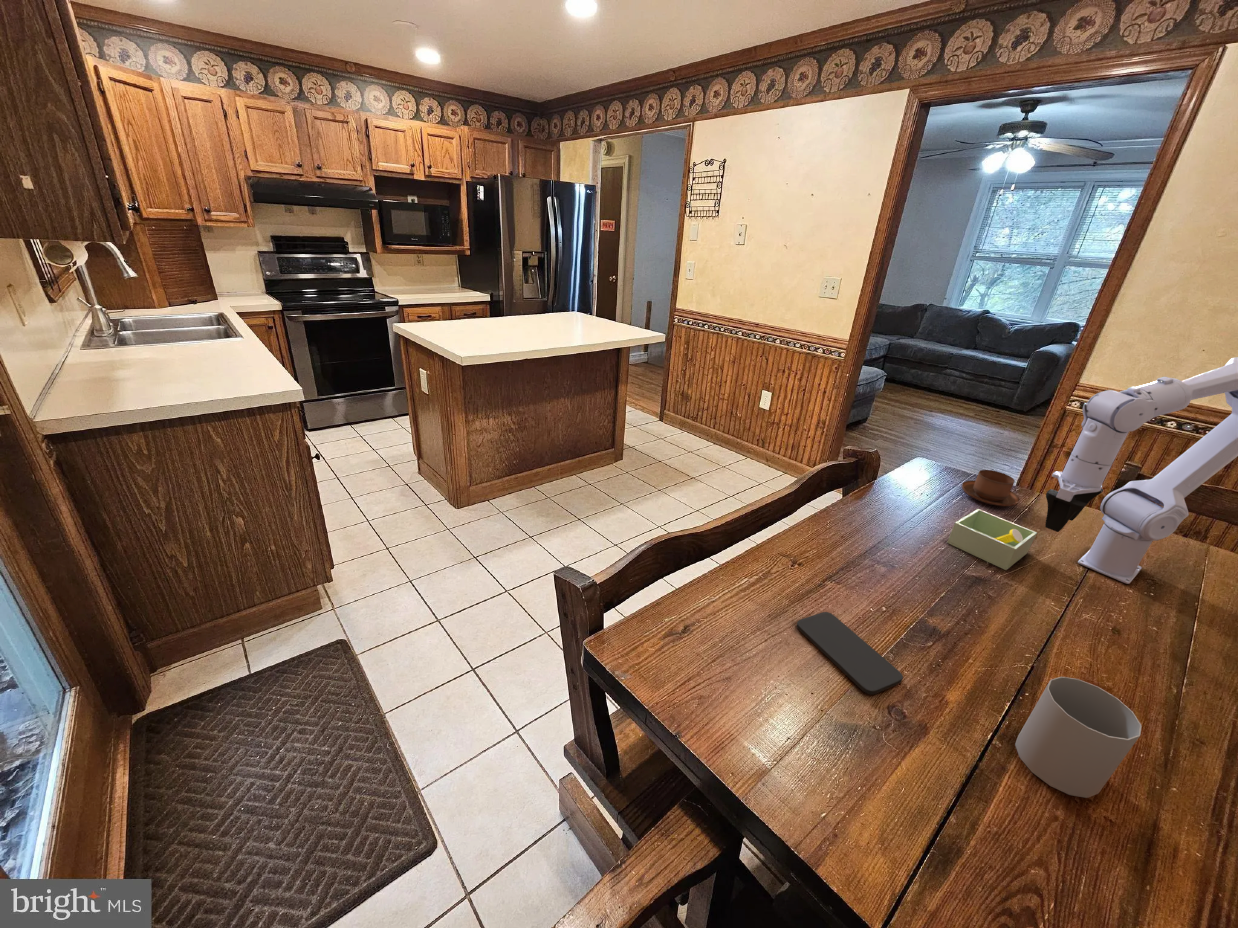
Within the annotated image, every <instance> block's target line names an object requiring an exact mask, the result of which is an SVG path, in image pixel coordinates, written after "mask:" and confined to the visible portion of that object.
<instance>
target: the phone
mask: <svg viewBox="0 0 1238 928" xmlns="http://www.w3.org/2000/svg"><path fill="white" fill-rule="evenodd" d="M796 628H797V630H798V631H799V632H800V633H801V634H802V635H803V636H805V638H807V639H808V641H810V642H811V643H812V644H813V645H814V646H815V647H816V648H817V649H818V650H819V651H820V652H821V653H822V654H823V655H824V656H825V657H826V658H827V659H829V661H831V662H832V663H833V664H834V665H835V666H836V667H837V668H838V669H839V670H840V671H841V672H842V673H843V674H844V675H845V676H846V677H847V678H848V679H849V680H850V681H851V682H852V683H853V684H855V686H857V687H858V689H860V690H861V691H862V692H864V693H865V694H867V695H870V696H871V695H876V694H879V693H881V692H883V691H885V690H887V689H890V688H893V687H895V686H897V685H899V684H901V683H902V682H903V679H904V676H903V674H902V673H901V671H900V670H898V669H897V668H896V667H895V666H894V665H892V664H891V662H889V661H888V660H887V659H886V658H884V657H883V656H882V655H881V654H879V652H878V651H876V650H875V649H874V648H873V647H872V646H871V645H869V644H868V643H867V642H866V641H865V640H863V639H862V638H861V637H860V636H858V634H856V633H855V632H854V631H853V630H851V628H849V626H847V625H846V624H845V623H844V622H842V621H841V620H840V619H839V618H838V617H837V616H836V615H835V614H832V613H831V612H828V611H823V612H820V613H819V612H818V613H816V614H813V615H811V616H807V617H804V618H801V619H799V620H798V621H797V622H796Z"/></svg>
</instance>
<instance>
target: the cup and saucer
mask: <svg viewBox="0 0 1238 928" xmlns="http://www.w3.org/2000/svg"><path fill="white" fill-rule="evenodd" d="M1014 484H1015V478H1013V477H1012V476H1011V475H1008V474H1007V473H1004V472H1001V471H997V470H992V469H981V470H979V471H978V473H977V476H976V479H975V480H966V481H964V482H962V483H961V488H962V491H963V492H964V493H965V494H966V495H968V496H969V497H970V498H972V499H974V500H976V501H979V502H980V503H983V504H984V503H985V504H987V505H990V506H996V507H1012V506H1015V505H1017V504H1018V503H1019V502H1020V499H1021V498H1020V497H1019V495H1017V493H1015V492H1014V491H1013V490H1012V489H1013V487H1014Z"/></svg>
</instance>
